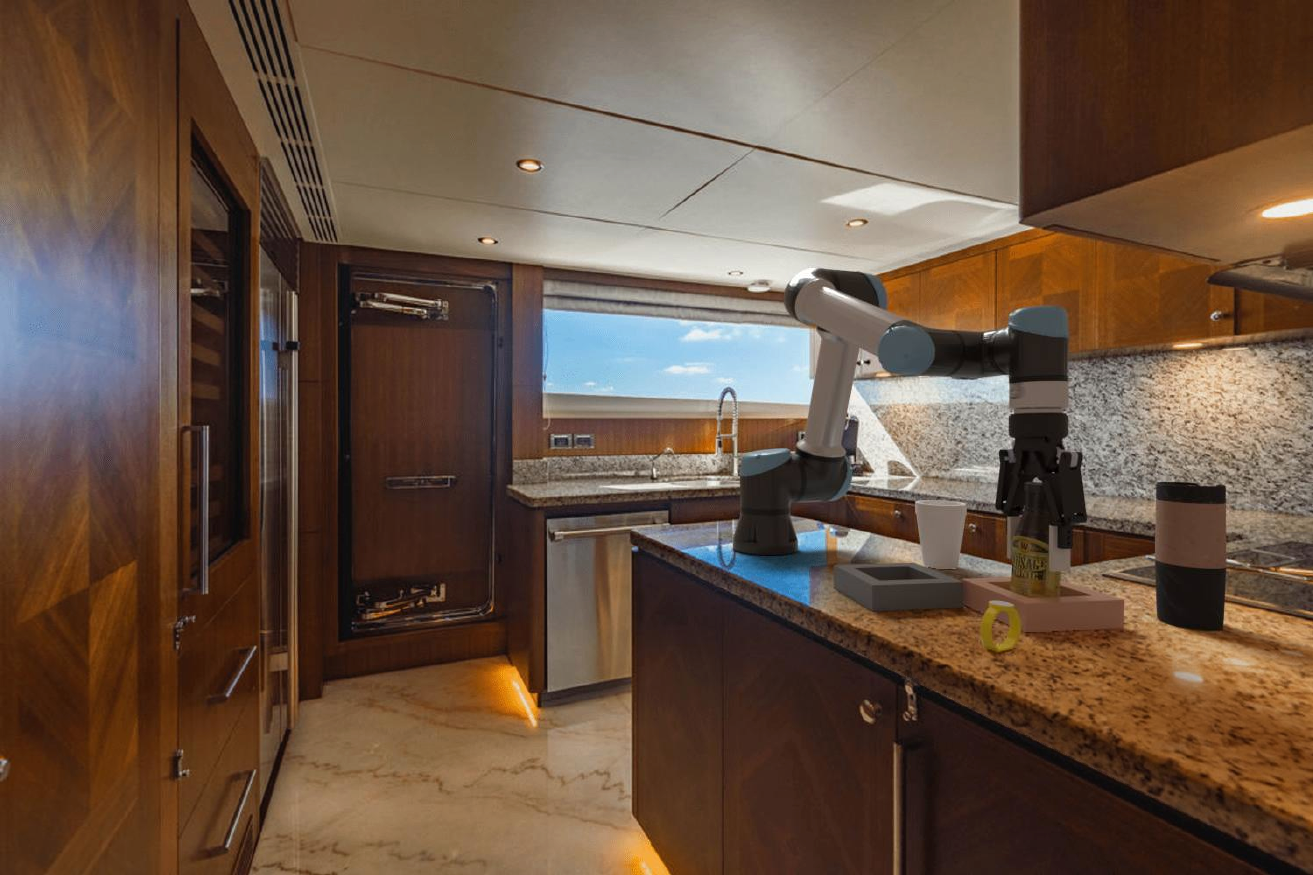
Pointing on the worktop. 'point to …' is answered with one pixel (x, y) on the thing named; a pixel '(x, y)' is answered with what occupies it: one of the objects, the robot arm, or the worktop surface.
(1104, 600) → the holder
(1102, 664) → the worktop surface
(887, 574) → the holder
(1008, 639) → the watch
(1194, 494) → the travel mug
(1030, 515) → the sauce bottle
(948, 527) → the foam cup
